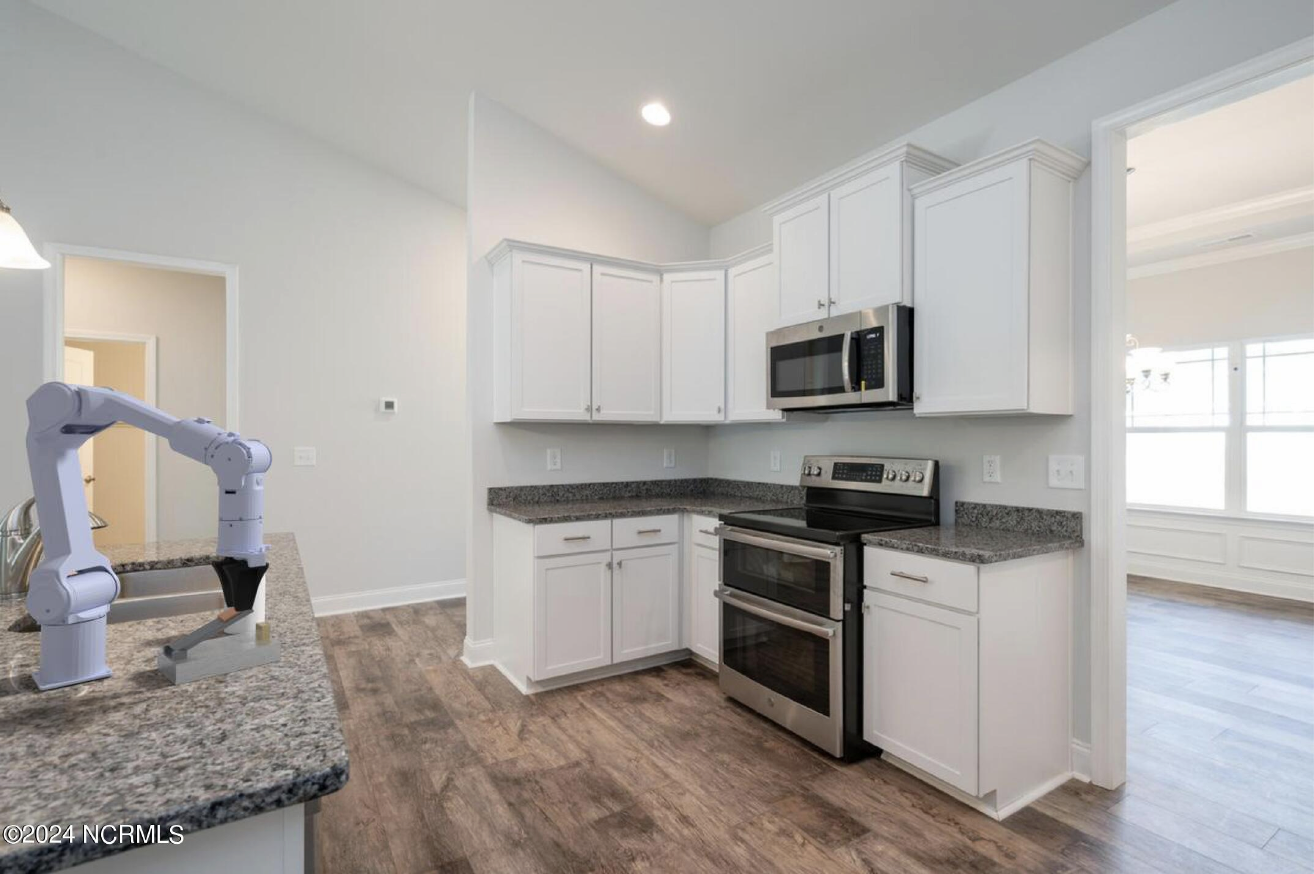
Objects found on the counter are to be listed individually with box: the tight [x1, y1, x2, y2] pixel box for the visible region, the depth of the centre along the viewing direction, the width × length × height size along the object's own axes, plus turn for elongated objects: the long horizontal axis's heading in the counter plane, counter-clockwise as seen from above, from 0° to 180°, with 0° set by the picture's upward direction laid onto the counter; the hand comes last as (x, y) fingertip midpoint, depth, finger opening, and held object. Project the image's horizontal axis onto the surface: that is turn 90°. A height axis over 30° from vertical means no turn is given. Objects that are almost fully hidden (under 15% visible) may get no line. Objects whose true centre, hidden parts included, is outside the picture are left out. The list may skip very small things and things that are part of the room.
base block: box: [156, 621, 282, 686], centre depth 100 cm, size 10×14×5 cm
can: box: [223, 573, 266, 635], centre depth 118 cm, size 6×6×12 cm
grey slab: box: [169, 607, 254, 651], centre depth 99 cm, size 4×11×1 cm, turn 141°
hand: (239, 608), depth 95 cm, fingers open, 3 cm apart
